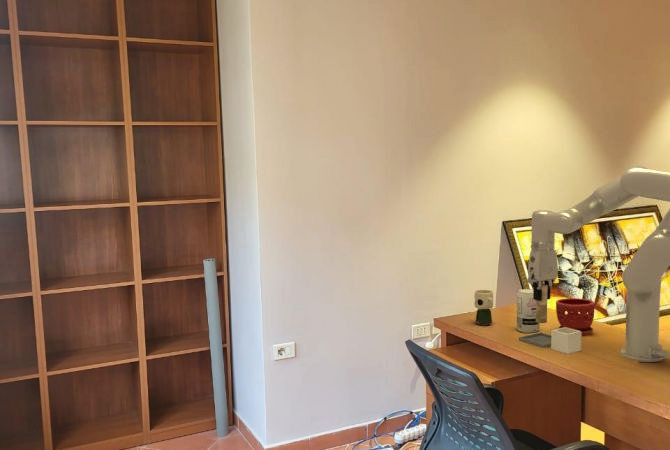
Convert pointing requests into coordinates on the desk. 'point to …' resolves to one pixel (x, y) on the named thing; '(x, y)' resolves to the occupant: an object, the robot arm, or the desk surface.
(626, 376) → the desk surface
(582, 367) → the desk surface
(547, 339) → the tray
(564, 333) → the white open square box
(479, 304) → the character mug
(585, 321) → the plant pot
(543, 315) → the dowel
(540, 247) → the robot arm
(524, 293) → the supplement can
